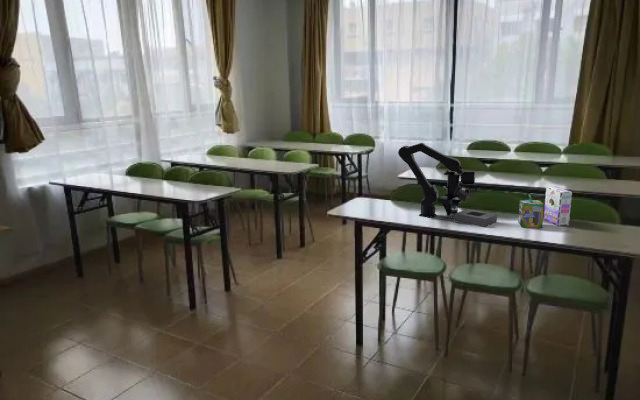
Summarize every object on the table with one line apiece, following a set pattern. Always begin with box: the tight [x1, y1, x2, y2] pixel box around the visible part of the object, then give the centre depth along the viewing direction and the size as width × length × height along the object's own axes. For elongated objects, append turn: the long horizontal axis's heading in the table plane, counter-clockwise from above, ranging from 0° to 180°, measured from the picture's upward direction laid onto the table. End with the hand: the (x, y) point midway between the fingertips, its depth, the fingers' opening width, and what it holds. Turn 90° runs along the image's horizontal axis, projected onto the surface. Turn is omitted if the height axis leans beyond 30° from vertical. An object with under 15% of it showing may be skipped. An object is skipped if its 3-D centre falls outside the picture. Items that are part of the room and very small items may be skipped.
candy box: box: [543, 186, 573, 227], centre depth 236 cm, size 14×6×16 cm, turn 3°
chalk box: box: [517, 193, 545, 229], centre depth 232 cm, size 9×9×15 cm
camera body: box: [454, 208, 498, 228], centre depth 240 cm, size 16×12×4 cm
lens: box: [445, 205, 459, 219], centre depth 249 cm, size 6×6×6 cm
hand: (451, 214), depth 249 cm, fingers closed on lens, 6 cm apart
